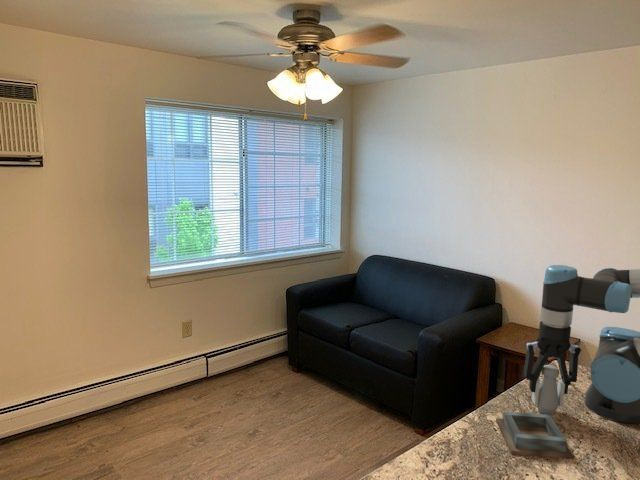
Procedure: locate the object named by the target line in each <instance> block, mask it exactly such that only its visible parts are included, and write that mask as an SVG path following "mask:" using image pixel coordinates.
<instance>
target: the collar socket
mask: <svg viewBox="0 0 640 480" xmlns="http://www.w3.org/2000/svg"><path fill="white" fill-rule="evenodd" d="M495 422H496V424H497V426H498V429H499V432H500V433H501V435H502V438H503V439H504V442H505V444H506V446H507V448H508V450H509V453H510V454H511V455H519V456H520V455H521V456H529V457H530V456H531V457H545V458H556V459H567V460H568V459H570V460H574V459H575V458H574V457H575V455H574V453H572V451H571V449H570V448H569V446H568V440H567V439H566V437H565V436H564V434H563V432H561V430H560V428H559V427H558V425H557V424H556V423H555V421H554V420H553V418H552V416H551V415H547V414H543V413H542V414H541V413H532V412H531V413H527V412H516V411H514V412H513V411H503V413H502V418H501V417H500V418H497V417H496V418H495Z"/></svg>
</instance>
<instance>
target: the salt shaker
mask: <svg viewBox="0 0 640 480" xmlns="http://www.w3.org/2000/svg"><path fill="white" fill-rule="evenodd" d="M541 374H542V376H543V377H542V379H541V382H540V387H539V396H538V405H536V407H537V411H538V412H539V413H540V414H541V413H542V414H545V415H550V416H552V415H553V414H554V413H556V411H557V410H558V408H559V407H560V406H559V402H558V391H557V387H558V380H557V378H558V377H559V375H560V370H559V367H556V366H555V365H551V364H544V367H543V369H542V371H541Z"/></svg>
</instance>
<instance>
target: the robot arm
mask: <svg viewBox="0 0 640 480" xmlns="http://www.w3.org/2000/svg"><path fill="white" fill-rule="evenodd" d="M543 278H544V279H543V281H542V282H543V283H542V284H543V286H542V295H541V296H542V299H541V307H540V308H541V309H540V318H539V319H540V322H539V327H538V337H537V339H536V340H535V341H534V342H530V341H527V342H525V349H526V354H525V358H524V359H525V360H524V367H523V371H522V372H523V373H522V374H523V375H524V377H525V379H526V380H529V386H528V387H529V388H528V389H529V391H530V392H531V401H532V403H533V405H534V406H537V405H538V396H539V388H540V385H541V382H540V381H539V377H540V375H541V374H542V372H541V371H542V369H543V367H544V365H546V362H547V361H548V360H549V358H556V360H557V363H558V370H559V375H560V377H561V379H558V380H557V391H558V402H559V406H558V407H560V408H562V407H564V406H563V404H564V396H565V395H567V394H568V393H569V392H568V391H569V386H571V383H576V382H577V381H578V367H579V366H578V365H579V355H580V353H581V351H582V349H581V347H580V346H579V345H577V344H575V343H574V344H572V343H571V342H570V338H571V332H572V331H571V330H572V327H571V326H572V323H573V313H574V306H578V307H584V308H588V309H593V310H594V309H595V310H599V311H605V312H609V313H618V314H626V313H627V312H629V308H630V303H631V299H633V298H634V299H635V298H636V299H639V298H640V268H636V269H616V268H613V267H606V268H603V269H601V270H599V271H597V272H596V273H595V274H594V276H593V277H584V276H580V275H579V273H578V269H577V268H575V267H574V266H568V265H563V264H552V265H549V266H547V267H546V269H545V273H544V277H543ZM599 333H600V334H599V335H598V336H599V341H598V342H599V343H598V346H597V347H598V348H597V349H596V350H597V351H596V353H595V356H594V358H593V360H592V363H591V364H590V379H591V383H590V385H589V387H588V388H587V390H586V392H585V393H584V403H585V405H586V407H587V408H588V409H589V410H591V411H592V412H594V413H595V414H597V415H599V416H601V417H604V419H605V418H606V419H609V420H612V421H615V422H620V423H624V424H638V423H637V422H640V331H638V330H634V329H630V328H625V327H617V326H604V327H602V328H601V330H600V332H599ZM537 348H538V349H539V351H538V352H539V353H538V355H537V358H536V361H535V363H534V359H535V352H536V350H537ZM567 351H569V361H568V363H569V364H568V368H567V364H566V357H565V353H566V352H567Z"/></svg>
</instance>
